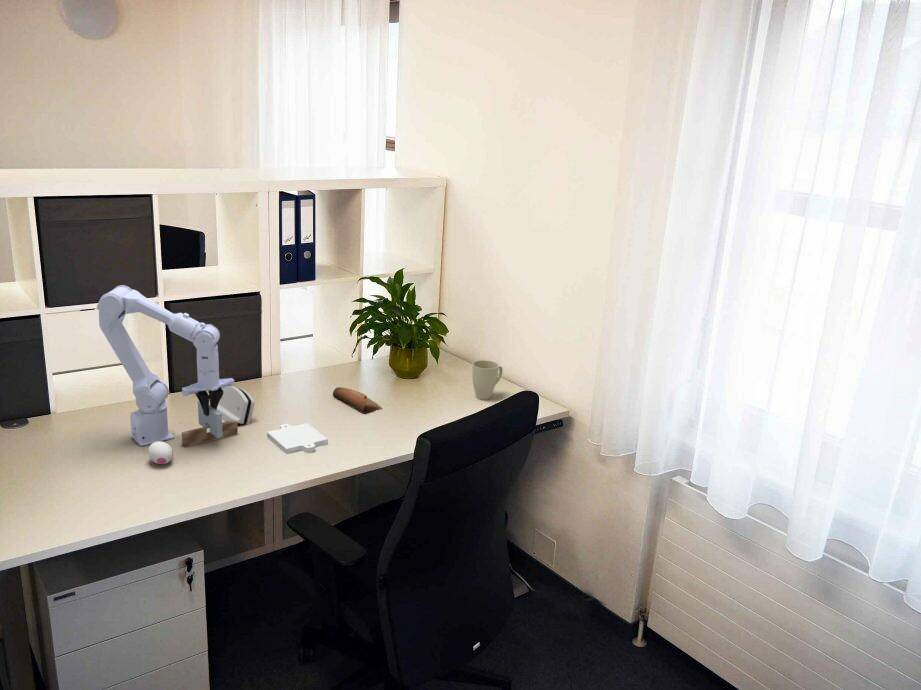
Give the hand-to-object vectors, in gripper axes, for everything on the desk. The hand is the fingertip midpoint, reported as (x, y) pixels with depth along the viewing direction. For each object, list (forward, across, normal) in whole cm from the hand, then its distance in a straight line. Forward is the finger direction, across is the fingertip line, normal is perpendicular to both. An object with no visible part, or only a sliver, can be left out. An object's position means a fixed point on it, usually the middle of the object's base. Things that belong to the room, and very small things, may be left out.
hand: (209, 414), depth 220 cm
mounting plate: (+9, +20, -14) cm, 26 cm away
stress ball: (+8, -16, -6) cm, 19 cm away
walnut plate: (+8, 0, 0) cm, 8 cm away
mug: (+8, +91, -19) cm, 93 cm away
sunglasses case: (+9, +51, 0) cm, 52 cm away
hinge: (+8, +13, +12) cm, 20 cm away
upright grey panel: (+5, 0, 0) cm, 5 cm away
